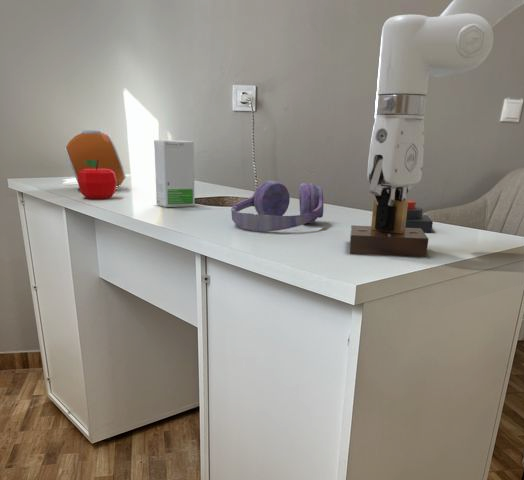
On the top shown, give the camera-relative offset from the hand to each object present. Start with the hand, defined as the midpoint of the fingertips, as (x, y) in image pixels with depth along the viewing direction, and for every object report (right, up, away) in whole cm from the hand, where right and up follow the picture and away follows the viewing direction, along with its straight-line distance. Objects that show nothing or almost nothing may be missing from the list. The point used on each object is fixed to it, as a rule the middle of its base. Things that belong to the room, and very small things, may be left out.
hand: (387, 228), depth 92 cm
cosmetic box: (-43, +16, +49) cm, 67 cm away
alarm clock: (-73, +31, +83) cm, 115 cm away
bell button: (+9, +9, +21) cm, 25 cm away
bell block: (+8, +5, +23) cm, 25 cm away
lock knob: (0, 0, 0) cm, 0 cm away
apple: (-66, +22, +62) cm, 93 cm away
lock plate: (0, -3, +1) cm, 3 cm away
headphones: (-18, +6, +23) cm, 30 cm away
